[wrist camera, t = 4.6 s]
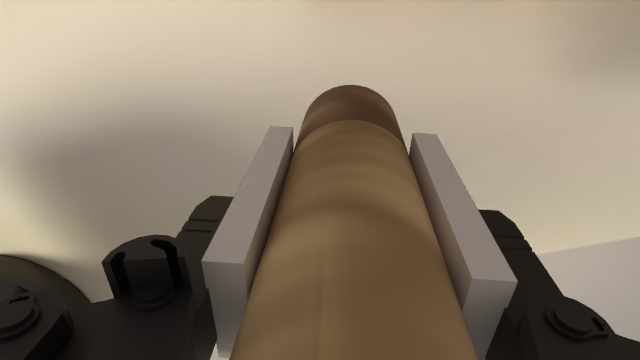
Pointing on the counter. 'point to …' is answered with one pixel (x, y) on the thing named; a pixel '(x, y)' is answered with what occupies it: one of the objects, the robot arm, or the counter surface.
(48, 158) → the counter surface
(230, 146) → the counter surface
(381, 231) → the oak dowel
